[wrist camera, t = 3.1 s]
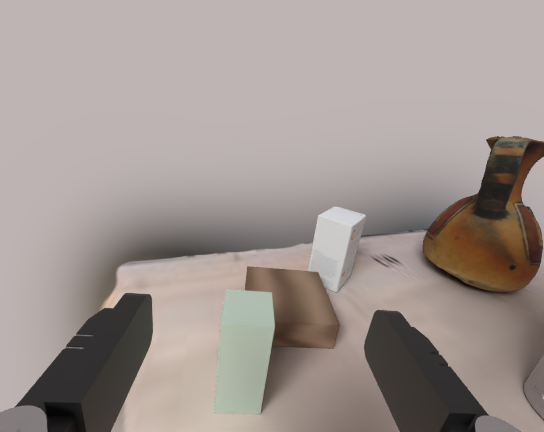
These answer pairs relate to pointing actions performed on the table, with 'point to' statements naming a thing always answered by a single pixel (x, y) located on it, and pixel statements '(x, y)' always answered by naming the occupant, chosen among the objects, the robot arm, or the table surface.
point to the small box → (335, 246)
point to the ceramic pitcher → (492, 224)
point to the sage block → (243, 351)
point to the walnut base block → (297, 306)
